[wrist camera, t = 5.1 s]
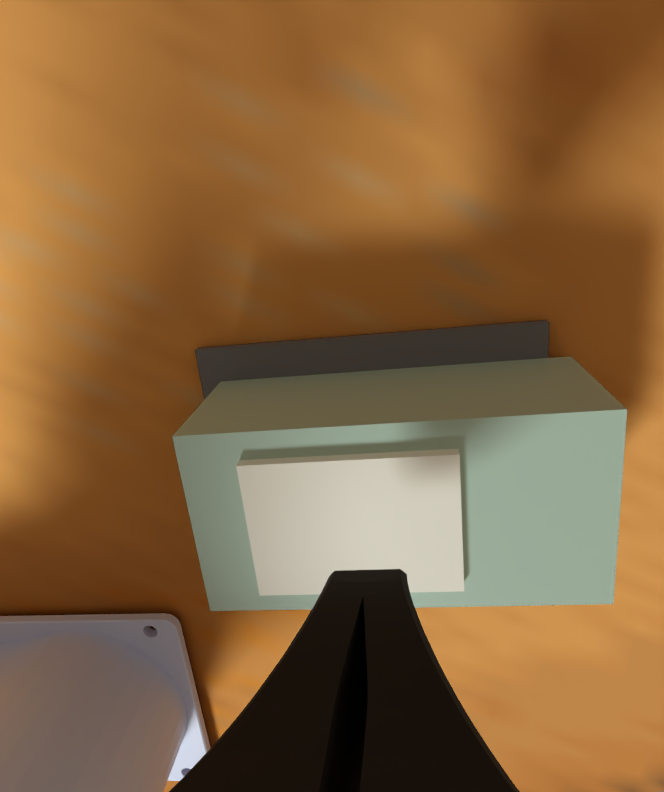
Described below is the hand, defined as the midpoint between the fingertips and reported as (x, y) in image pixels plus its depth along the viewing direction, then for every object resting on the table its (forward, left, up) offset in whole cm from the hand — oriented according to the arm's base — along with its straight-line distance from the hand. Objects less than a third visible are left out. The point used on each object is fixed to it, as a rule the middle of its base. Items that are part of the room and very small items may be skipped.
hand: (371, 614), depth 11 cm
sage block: (+6, 0, -5) cm, 8 cm away
